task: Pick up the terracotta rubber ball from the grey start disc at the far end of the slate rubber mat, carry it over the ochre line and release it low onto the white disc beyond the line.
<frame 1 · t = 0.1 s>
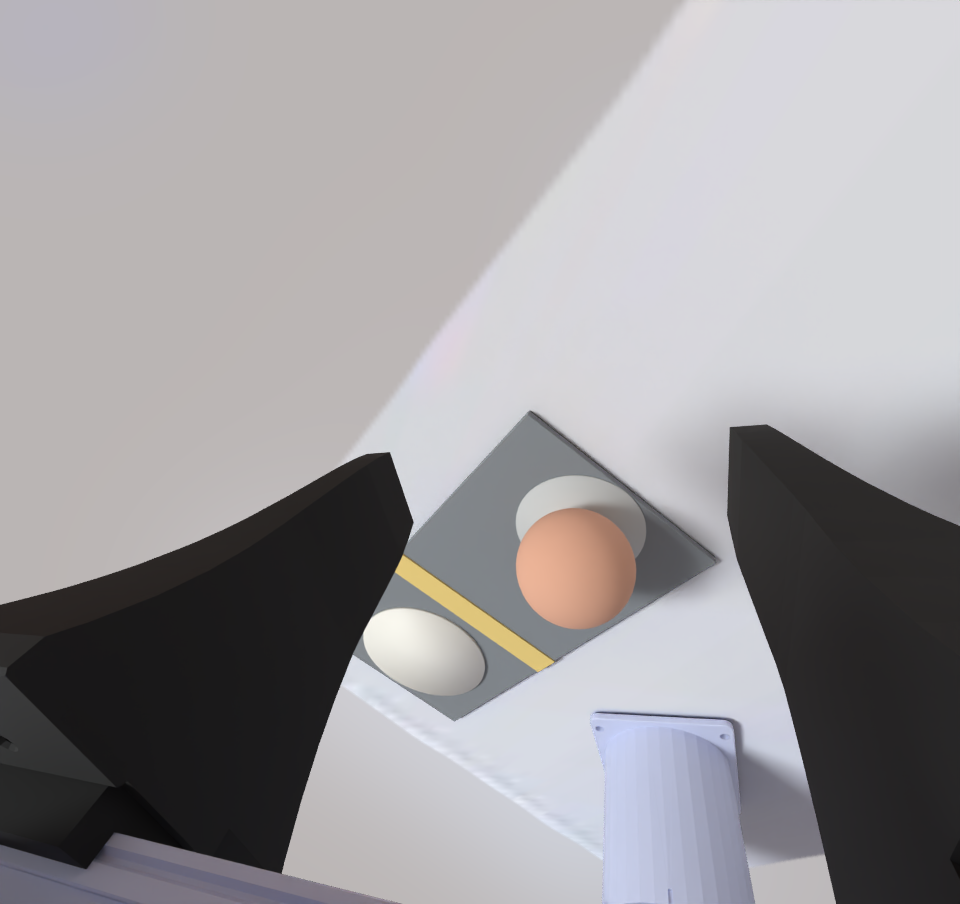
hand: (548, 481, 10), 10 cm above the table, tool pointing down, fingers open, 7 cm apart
ball: (574, 567, 21), point 3 cm above the table, touching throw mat
white disc: (423, 652, 31), resting on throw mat
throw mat: (483, 600, 27), on the table
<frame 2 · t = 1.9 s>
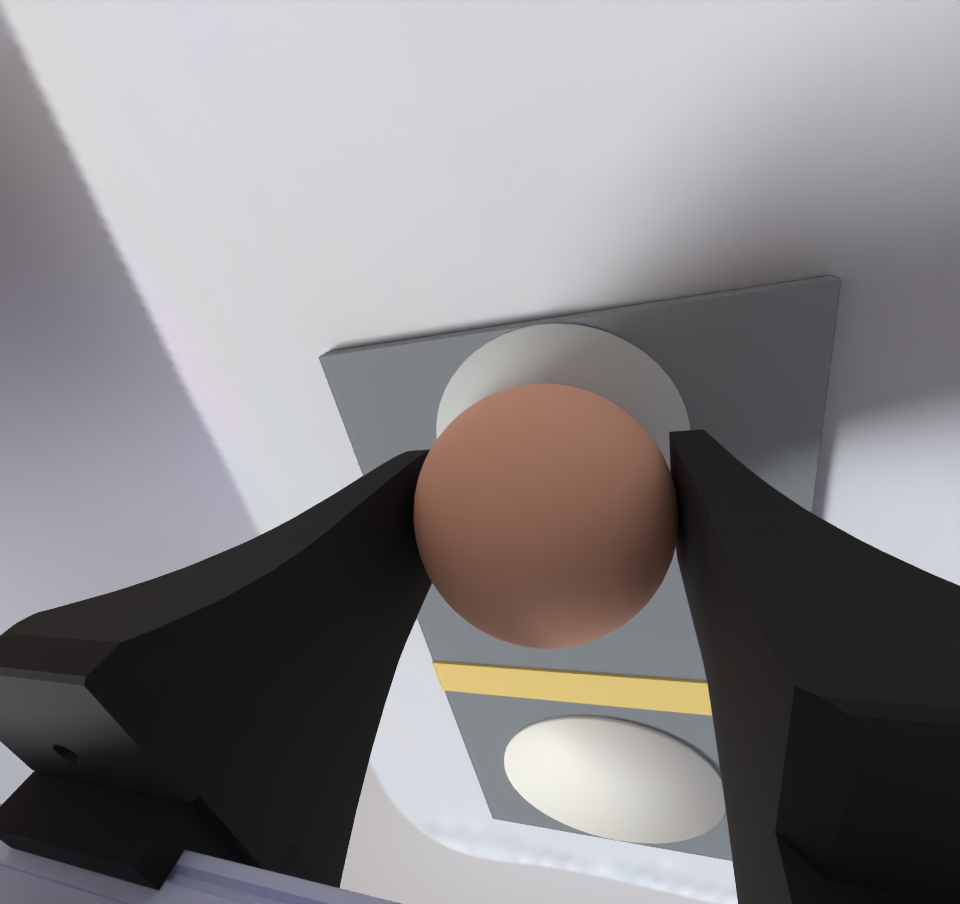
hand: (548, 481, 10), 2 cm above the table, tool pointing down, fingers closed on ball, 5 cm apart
ball: (541, 511, 10), point 3 cm above the table, touching gripper, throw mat
white disc: (608, 781, 18), resting on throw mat
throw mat: (591, 656, 16), on the table
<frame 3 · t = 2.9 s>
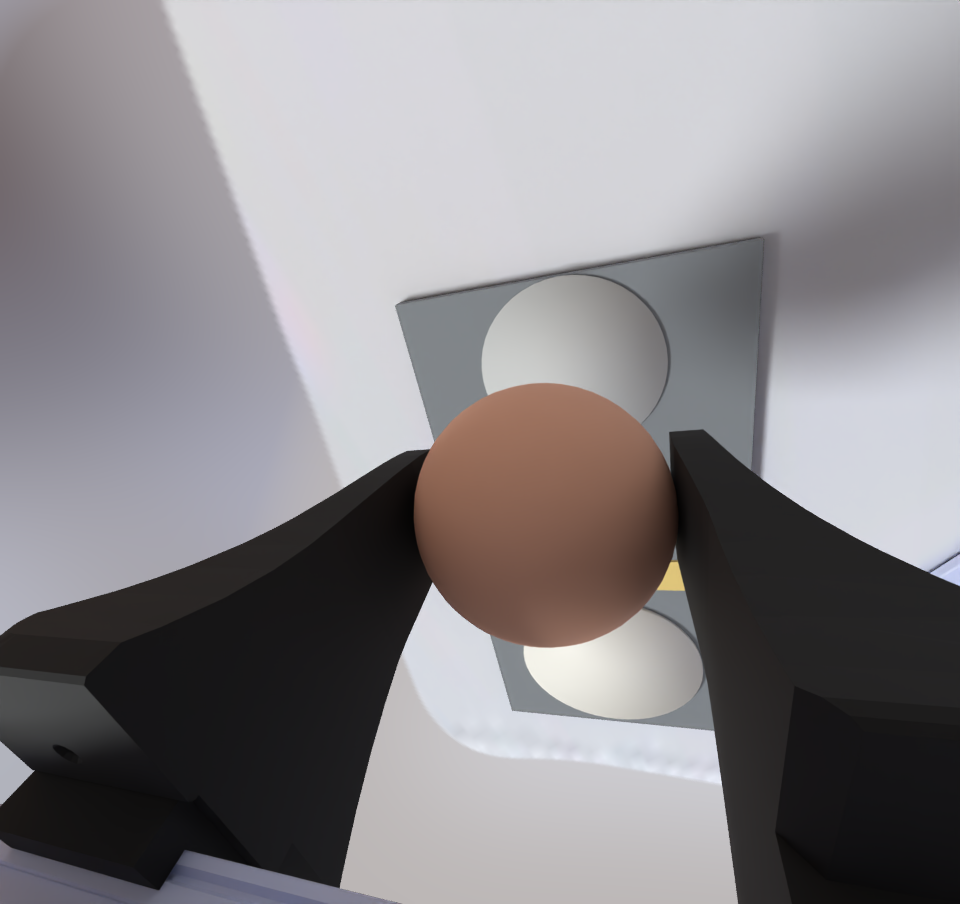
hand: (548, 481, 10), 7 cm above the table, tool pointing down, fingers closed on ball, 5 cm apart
ball: (541, 511, 10), point 8 cm above the table, touching gripper
white disc: (609, 662, 23), resting on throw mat
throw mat: (595, 549, 20), on the table
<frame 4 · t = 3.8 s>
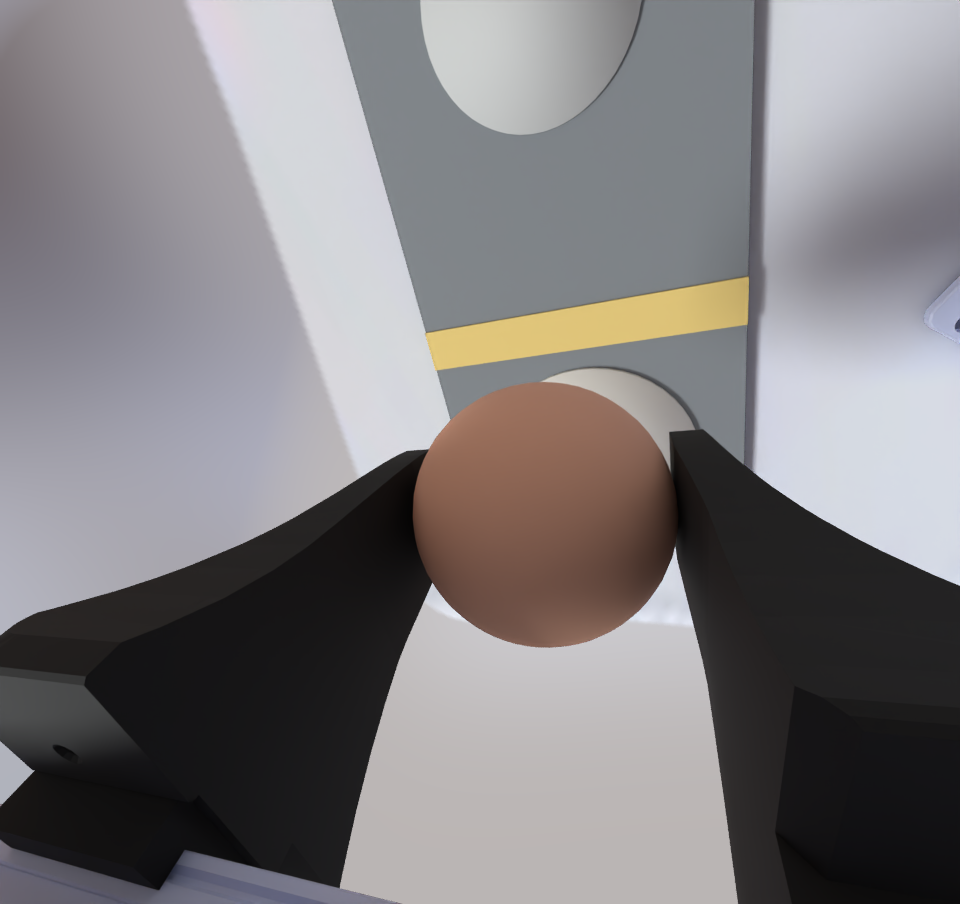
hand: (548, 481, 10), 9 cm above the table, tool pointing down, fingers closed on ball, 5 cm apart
ball: (541, 510, 10), point 10 cm above the table, touching gripper
white disc: (592, 461, 20), resting on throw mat
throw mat: (570, 297, 17), on the table
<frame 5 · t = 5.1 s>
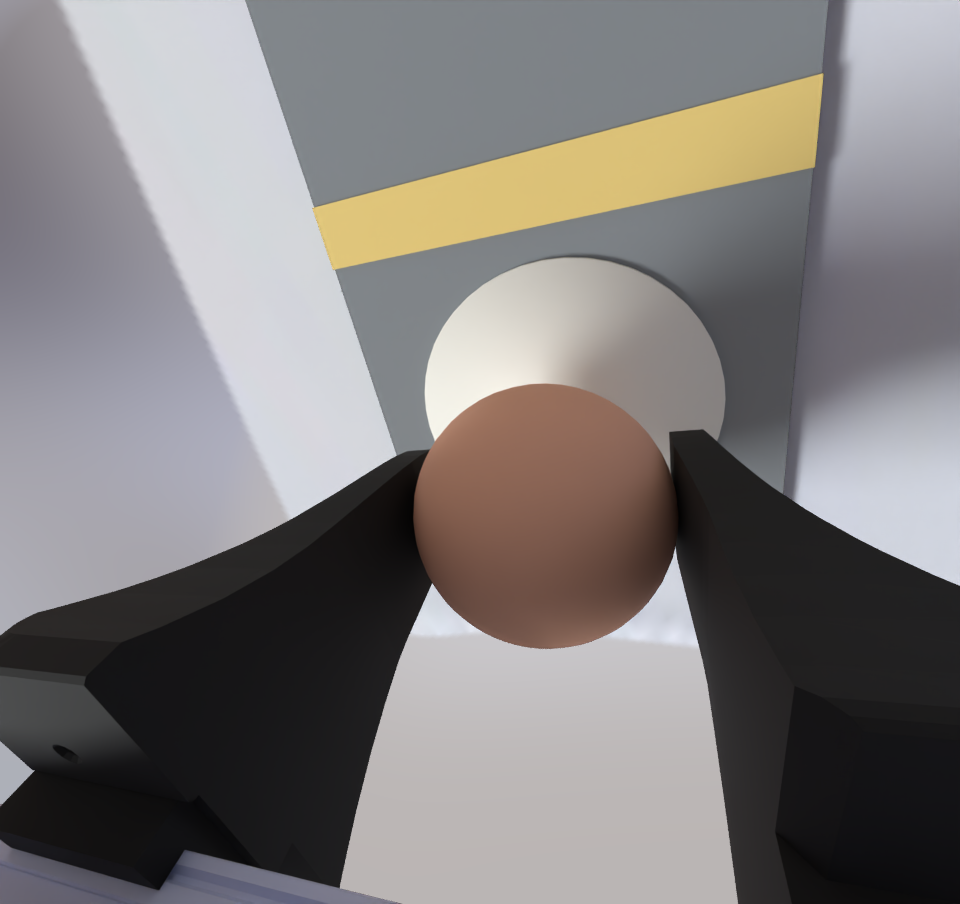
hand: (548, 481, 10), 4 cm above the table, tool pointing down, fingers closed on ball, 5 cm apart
ball: (541, 511, 10), point 5 cm above the table, touching gripper
white disc: (564, 410, 13), resting on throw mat
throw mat: (527, 139, 11), on the table
when the fingers open (4 cm above the table, at t = 6.0 s): ball drops 2 cm, resting on white disc.
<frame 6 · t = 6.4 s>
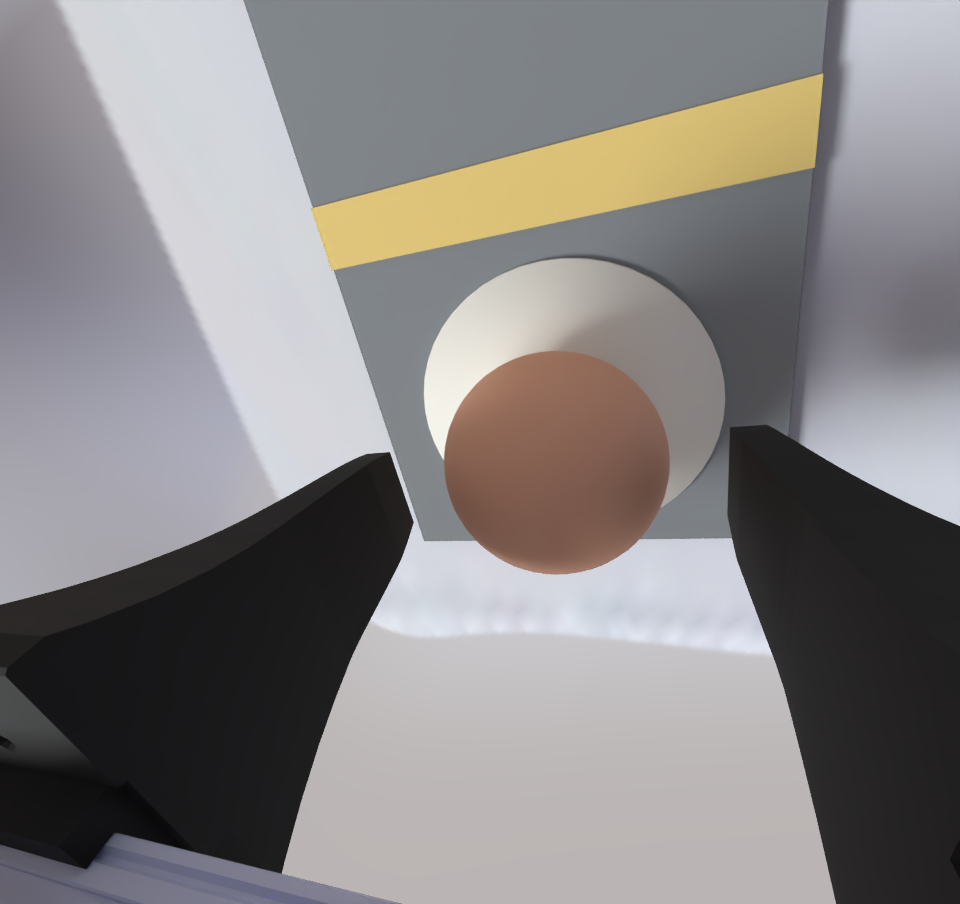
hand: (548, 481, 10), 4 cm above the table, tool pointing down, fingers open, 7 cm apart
ball: (553, 462, 11), point 3 cm above the table, touching white disc
white disc: (563, 411, 13), resting on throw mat
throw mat: (527, 139, 11), on the table
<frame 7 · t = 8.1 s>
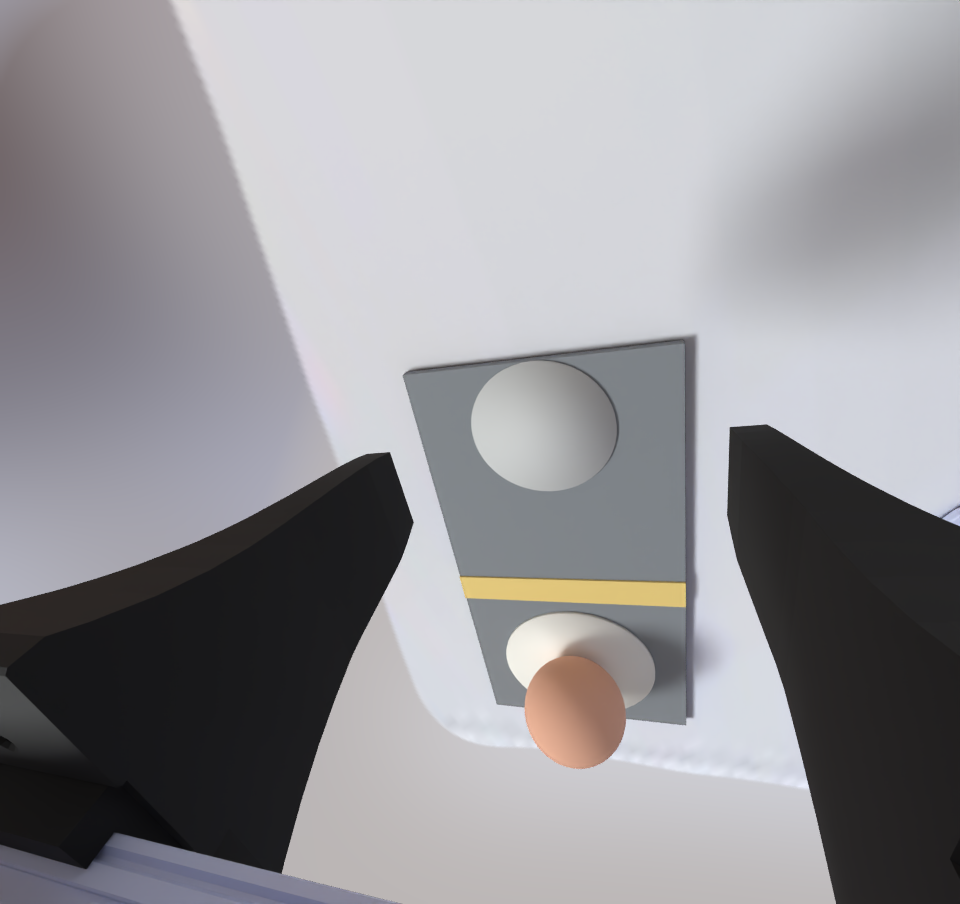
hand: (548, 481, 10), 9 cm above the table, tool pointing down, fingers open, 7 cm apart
ball: (574, 709, 24), point 3 cm above the table, touching white disc
white disc: (578, 663, 27), resting on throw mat
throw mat: (565, 569, 24), on the table
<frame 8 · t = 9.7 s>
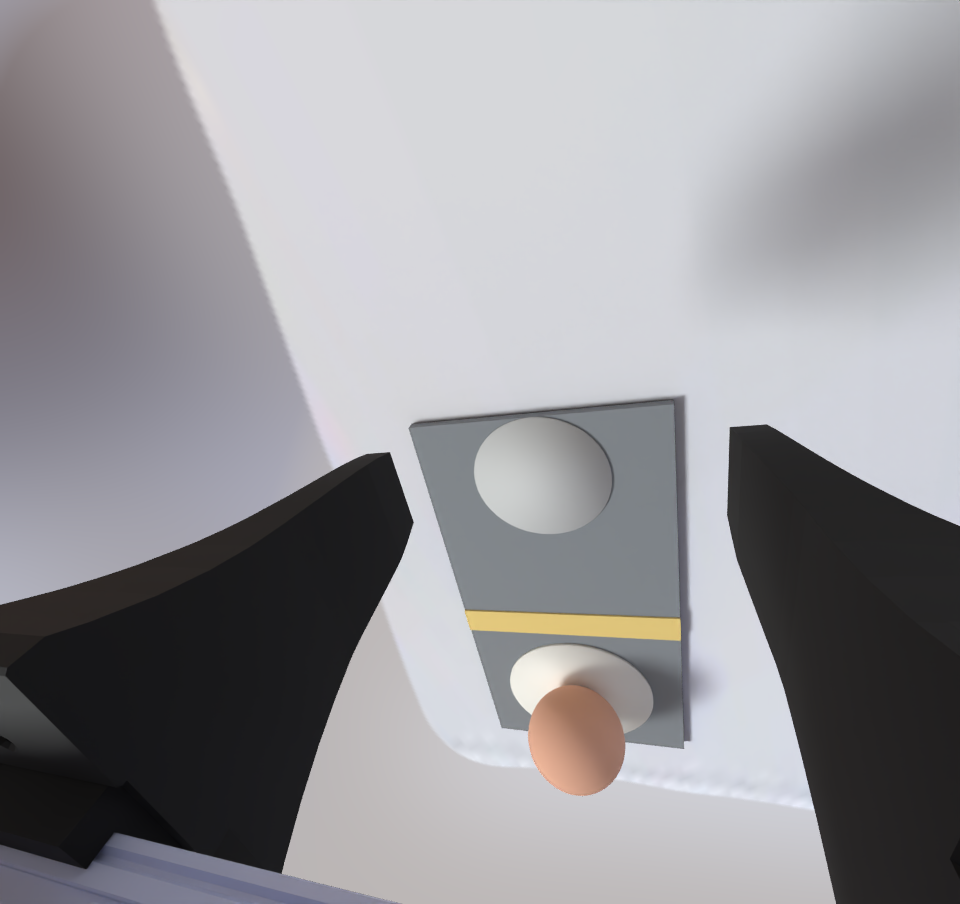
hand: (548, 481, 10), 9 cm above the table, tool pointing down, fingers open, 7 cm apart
ball: (575, 737, 26), point 3 cm above the table, touching white disc
white disc: (579, 690, 28), resting on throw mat
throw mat: (565, 603, 25), on the table
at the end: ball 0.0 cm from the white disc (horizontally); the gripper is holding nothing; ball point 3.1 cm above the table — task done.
